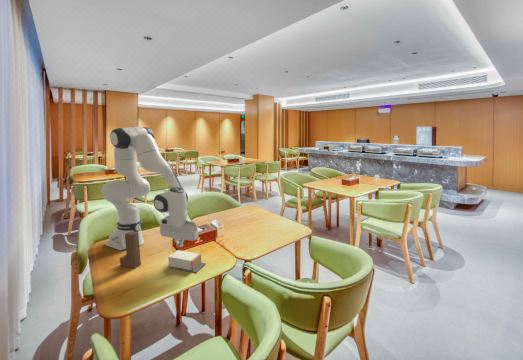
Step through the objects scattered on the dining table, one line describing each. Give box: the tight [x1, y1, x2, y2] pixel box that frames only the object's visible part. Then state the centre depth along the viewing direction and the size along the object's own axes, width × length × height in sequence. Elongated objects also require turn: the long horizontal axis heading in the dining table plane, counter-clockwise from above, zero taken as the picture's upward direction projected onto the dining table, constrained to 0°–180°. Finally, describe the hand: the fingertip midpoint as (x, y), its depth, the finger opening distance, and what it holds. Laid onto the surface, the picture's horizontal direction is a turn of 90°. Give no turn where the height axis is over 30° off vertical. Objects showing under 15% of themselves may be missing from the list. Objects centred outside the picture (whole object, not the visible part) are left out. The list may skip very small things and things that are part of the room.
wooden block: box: [119, 231, 142, 269], centre depth 139 cm, size 9×4×18 cm, turn 74°
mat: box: [169, 262, 206, 274], centre depth 140 cm, size 15×9×1 cm, turn 72°
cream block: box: [167, 249, 202, 271], centre depth 140 cm, size 5×8×14 cm
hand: (179, 246), depth 139 cm, fingers closed
